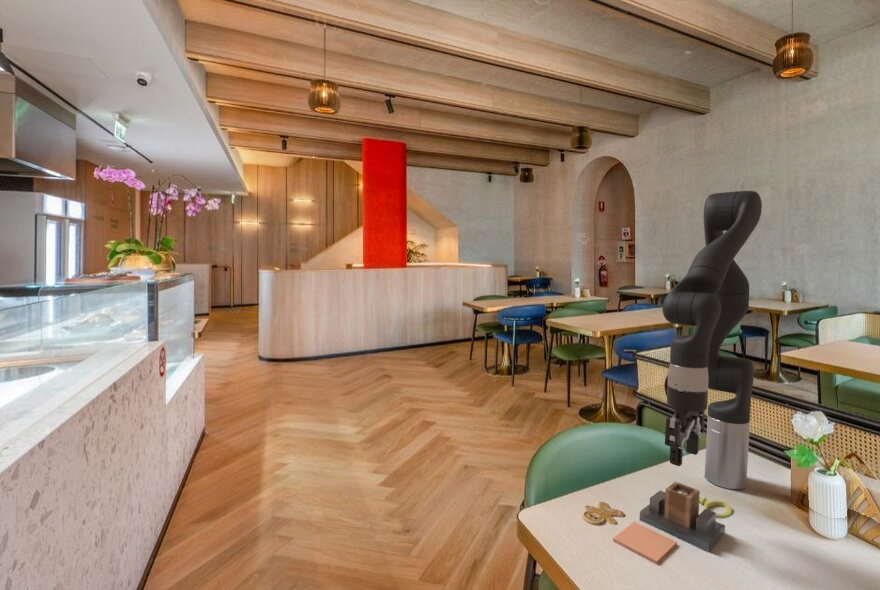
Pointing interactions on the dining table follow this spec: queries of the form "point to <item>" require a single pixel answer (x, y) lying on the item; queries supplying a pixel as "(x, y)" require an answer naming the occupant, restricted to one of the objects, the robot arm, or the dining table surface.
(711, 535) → the grey clamp base
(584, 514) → the cookie
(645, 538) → the tile
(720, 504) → the key
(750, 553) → the dining table surface
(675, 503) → the sleeve
